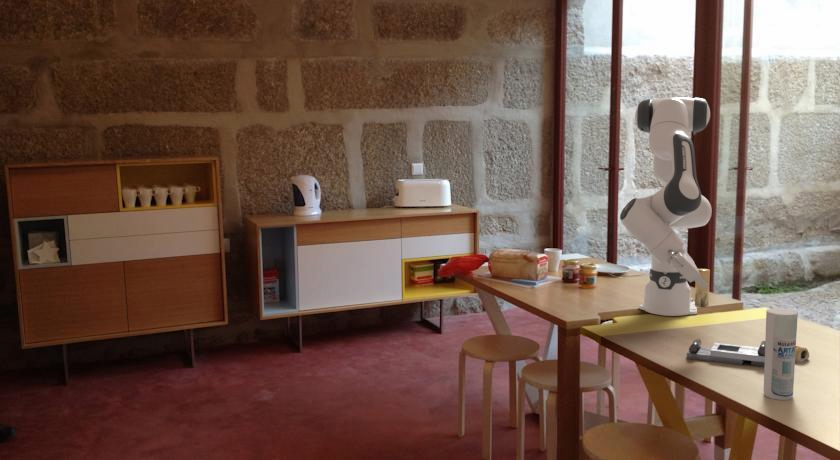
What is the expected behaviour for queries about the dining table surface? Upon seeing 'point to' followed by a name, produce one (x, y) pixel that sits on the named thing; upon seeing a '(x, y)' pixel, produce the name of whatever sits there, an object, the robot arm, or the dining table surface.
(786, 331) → the spray can
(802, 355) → the pastry
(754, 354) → the grey roller block
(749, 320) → the dining table surface
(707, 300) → the gold rounded cylinder
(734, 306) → the dining table surface
